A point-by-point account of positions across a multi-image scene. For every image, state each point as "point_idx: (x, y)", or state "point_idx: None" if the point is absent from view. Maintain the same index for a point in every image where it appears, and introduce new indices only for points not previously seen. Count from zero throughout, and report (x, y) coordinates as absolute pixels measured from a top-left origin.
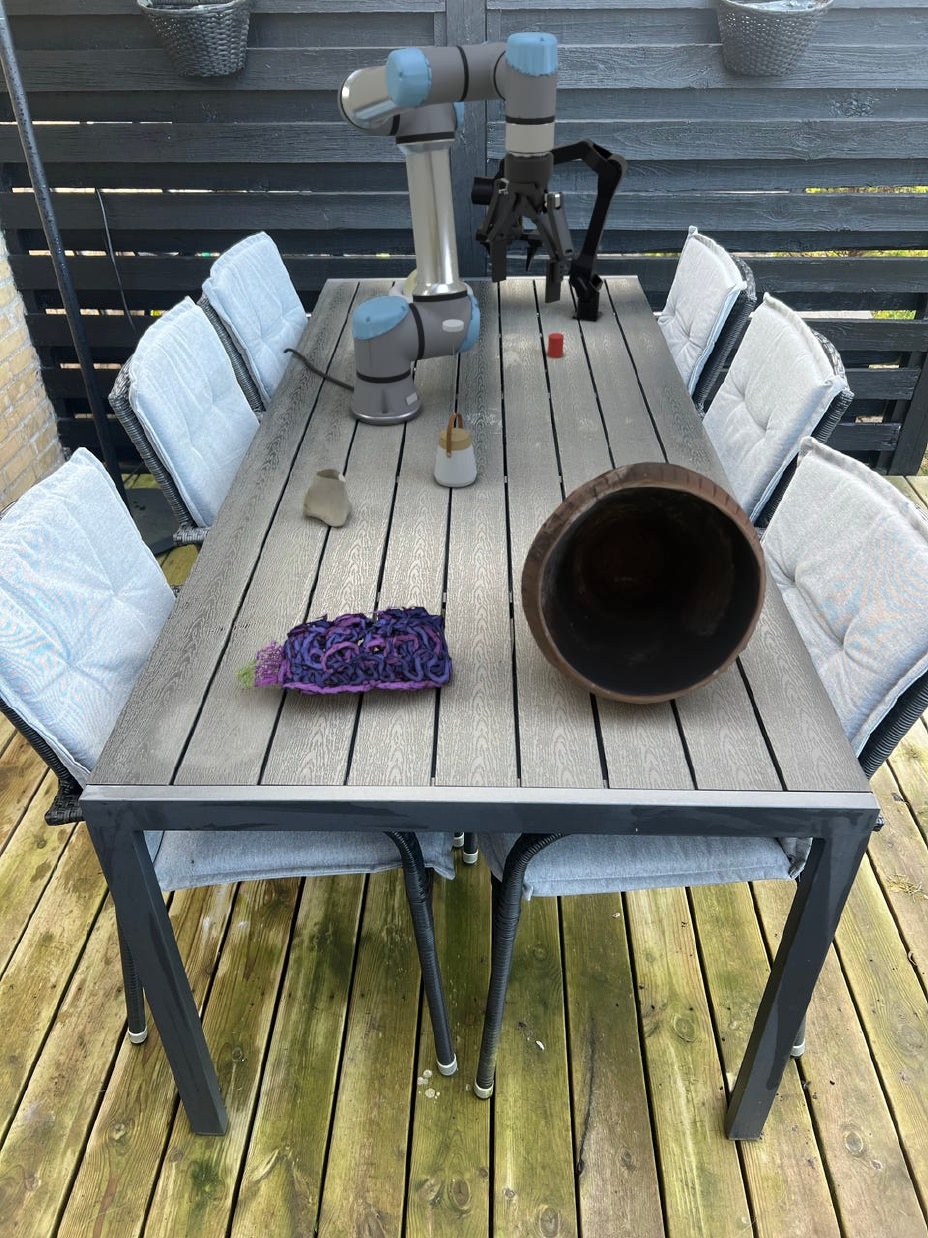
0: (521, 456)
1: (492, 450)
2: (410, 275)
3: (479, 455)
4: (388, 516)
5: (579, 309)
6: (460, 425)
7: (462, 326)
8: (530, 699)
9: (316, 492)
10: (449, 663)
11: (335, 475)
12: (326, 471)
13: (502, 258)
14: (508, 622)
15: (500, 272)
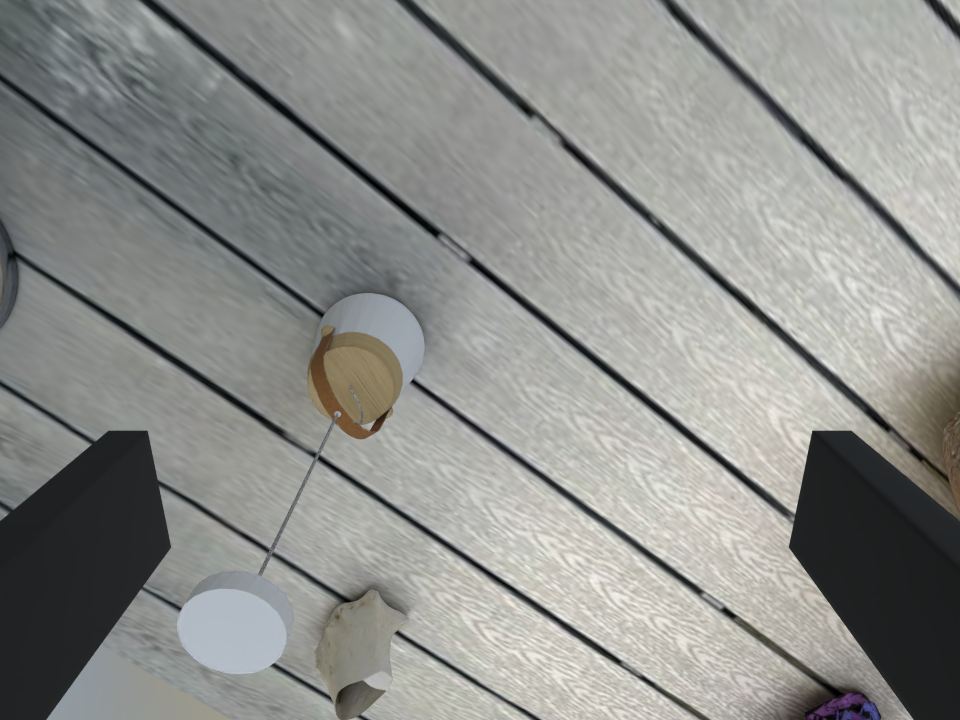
0: (377, 124)
1: (299, 167)
2: None
3: (304, 216)
4: (424, 535)
5: None
6: (321, 351)
7: (282, 607)
8: None
9: (349, 684)
10: (866, 705)
11: (348, 672)
12: (335, 692)
13: (36, 611)
14: None
15: (122, 538)
